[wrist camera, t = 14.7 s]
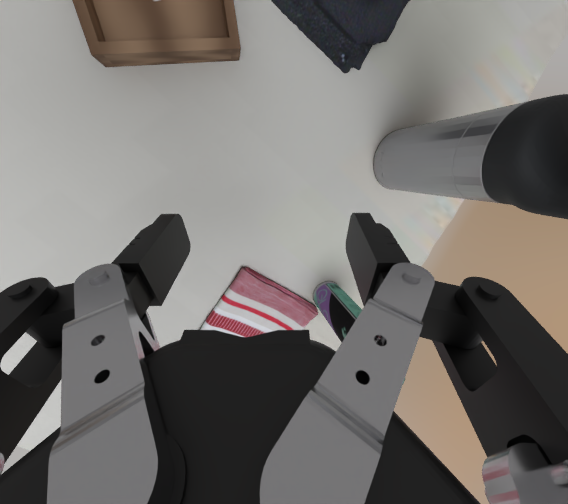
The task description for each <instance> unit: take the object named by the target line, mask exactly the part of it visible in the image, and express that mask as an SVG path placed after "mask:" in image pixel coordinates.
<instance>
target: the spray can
mask: <svg viewBox="0 0 568 504" xmlns="http://www.w3.org/2000/svg"><path fill="white" fill-rule="evenodd" d="M313 300H314V302H315V304H316V305H317V307H318V308H319V310H320V311H321V312H322V314H323V315H324V317H325V318H326V320H327V321H328V323H329V324H330V326H331V327H332V329H333V330H334V332H335V333H336V335H337V336H338V338H339V339H340V341H341V342H343V340H344V339H345V337H346V335H347V334H348V332H349V330H350V329H351V327H352V326H353V324H354V322H355V321H356V319H357V318H358V316H359V314H360V313H361V311H362V309H361V308H360V307H359V306H358V305H357V304H356V303H355V302H354V301H353V300H352V299H351V298H350V297H349V296H348V295H347V294H346V293H345V292H344V291H343V290H342V289H341V288H340V287H339V286H338V285H337V284H336V283H335V282H332V281H326V282H323V283H321V284H319V285H318V286H317V287H316V289H315V290H314V293H313ZM404 381H405V379H404ZM404 381H403V383H404ZM402 385H403V384H402Z"/></svg>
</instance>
